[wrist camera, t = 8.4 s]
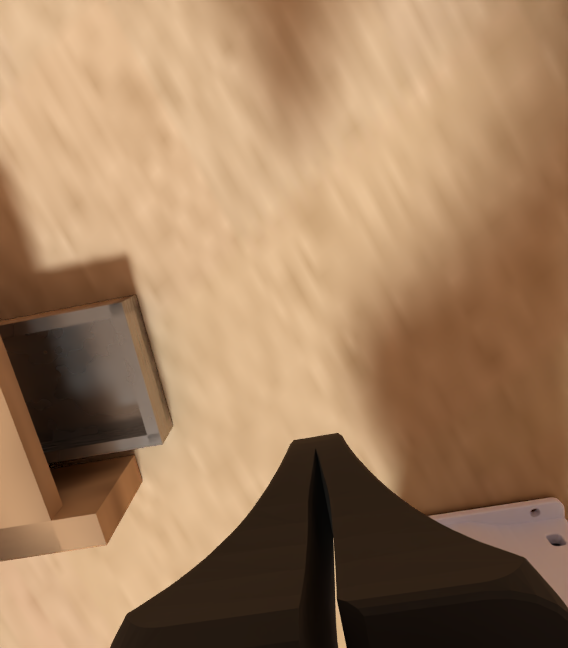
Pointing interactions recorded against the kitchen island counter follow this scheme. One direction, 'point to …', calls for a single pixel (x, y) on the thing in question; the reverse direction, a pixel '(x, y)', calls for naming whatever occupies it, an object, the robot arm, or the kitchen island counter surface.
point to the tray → (88, 379)
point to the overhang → (53, 487)
